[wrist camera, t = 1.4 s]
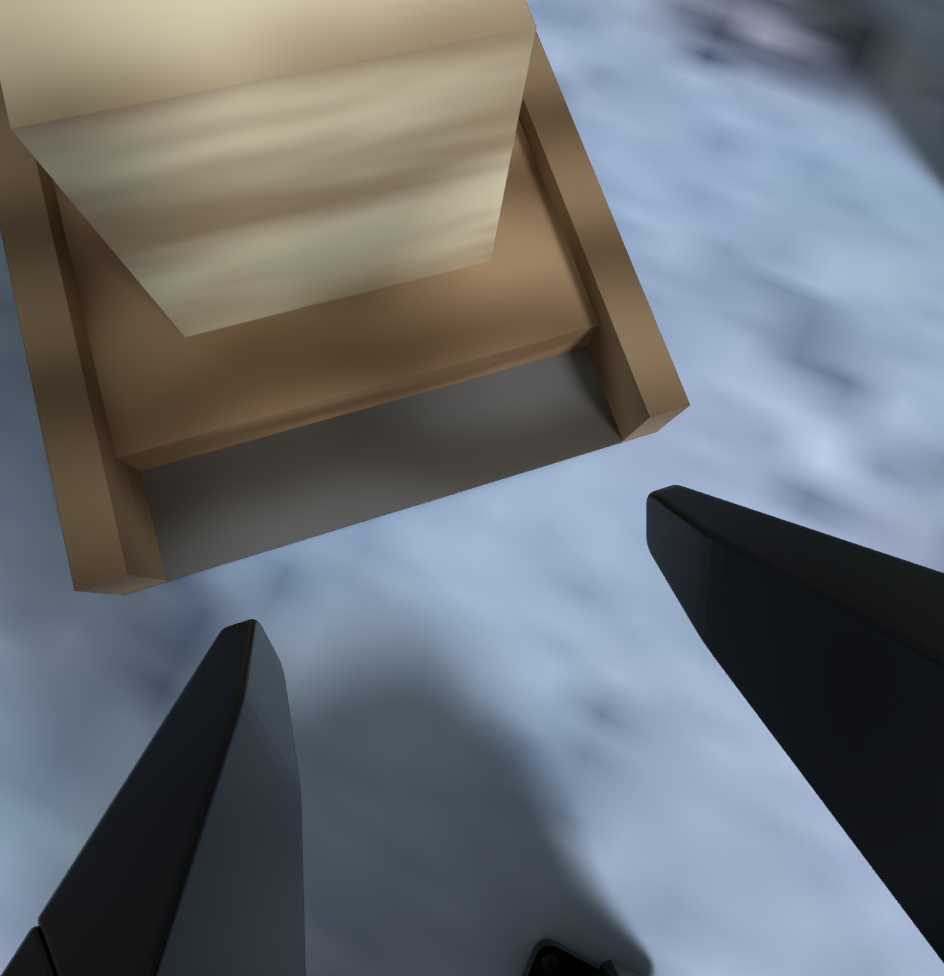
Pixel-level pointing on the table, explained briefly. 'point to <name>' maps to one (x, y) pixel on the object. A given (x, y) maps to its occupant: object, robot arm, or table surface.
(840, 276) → the table surface
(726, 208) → the table surface
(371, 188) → the birch block
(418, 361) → the trap lane
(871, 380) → the table surface
